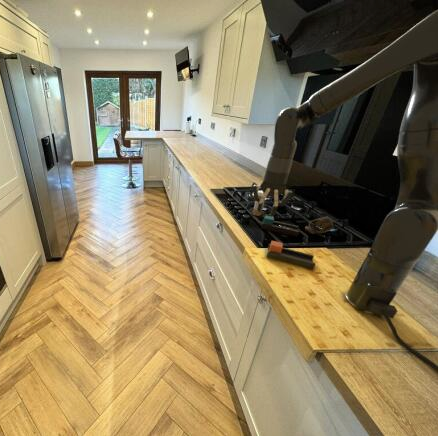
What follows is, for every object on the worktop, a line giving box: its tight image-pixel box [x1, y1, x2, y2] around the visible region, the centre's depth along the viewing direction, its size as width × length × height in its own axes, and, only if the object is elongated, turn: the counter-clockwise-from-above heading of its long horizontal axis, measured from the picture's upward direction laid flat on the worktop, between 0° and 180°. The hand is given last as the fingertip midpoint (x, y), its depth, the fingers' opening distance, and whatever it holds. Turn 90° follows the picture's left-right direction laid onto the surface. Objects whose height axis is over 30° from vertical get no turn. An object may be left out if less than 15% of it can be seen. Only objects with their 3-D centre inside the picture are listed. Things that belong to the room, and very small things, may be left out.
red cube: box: [269, 240, 284, 254], centre depth 94 cm, size 4×4×4 cm
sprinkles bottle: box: [252, 190, 266, 217], centre depth 129 cm, size 5×5×13 cm
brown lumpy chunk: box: [304, 216, 335, 235], centre depth 115 cm, size 7×13×10 cm
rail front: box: [265, 243, 316, 271], centre depth 93 cm, size 7×16×3 cm, turn 62°
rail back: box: [260, 218, 300, 238], centre depth 115 cm, size 7×16×3 cm, turn 62°
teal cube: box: [262, 215, 275, 225], centre depth 117 cm, size 4×4×4 cm
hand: (265, 212), depth 91 cm, fingers open, 3 cm apart
